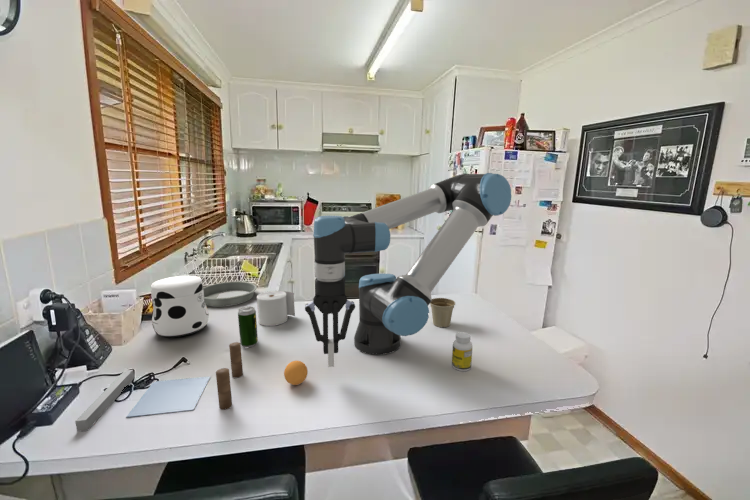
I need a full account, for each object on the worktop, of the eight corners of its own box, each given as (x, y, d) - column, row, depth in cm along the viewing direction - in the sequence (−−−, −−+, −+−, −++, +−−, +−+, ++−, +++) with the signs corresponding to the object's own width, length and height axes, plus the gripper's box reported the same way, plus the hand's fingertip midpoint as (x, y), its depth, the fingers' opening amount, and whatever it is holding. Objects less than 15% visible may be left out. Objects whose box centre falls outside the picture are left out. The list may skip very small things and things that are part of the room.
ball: (308, 375, 94) (307, 355, 93) (308, 388, 88) (307, 367, 87) (285, 377, 93) (284, 357, 92) (283, 391, 87) (282, 369, 86)
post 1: (233, 401, 83) (230, 367, 81) (230, 409, 80) (227, 374, 78) (221, 402, 82) (217, 368, 81) (217, 410, 80) (214, 375, 78)
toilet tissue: (252, 322, 129) (250, 296, 127) (277, 312, 139) (276, 288, 137) (271, 328, 123) (269, 302, 121) (296, 317, 133) (295, 293, 131)
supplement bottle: (447, 364, 100) (449, 332, 98) (462, 360, 102) (464, 329, 100) (459, 373, 95) (461, 340, 93) (475, 369, 97) (477, 337, 95)
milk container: (220, 322, 128) (215, 276, 125) (185, 344, 112) (178, 291, 108) (180, 318, 132) (175, 273, 129) (141, 338, 116) (133, 287, 112)
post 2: (243, 371, 96) (241, 341, 94) (241, 377, 93) (239, 346, 91) (233, 372, 95) (230, 342, 93) (230, 378, 93) (228, 347, 91)
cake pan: (219, 313, 139) (218, 302, 138) (186, 301, 152) (185, 291, 151) (268, 296, 159) (268, 286, 158) (235, 287, 172) (234, 278, 171)
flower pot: (425, 327, 125) (426, 304, 123) (431, 317, 133) (432, 296, 132) (451, 331, 121) (453, 308, 120) (456, 321, 130) (457, 299, 128)
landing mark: (210, 376, 93) (210, 376, 93) (193, 410, 80) (193, 409, 80) (153, 382, 91) (153, 381, 91) (126, 417, 77) (126, 416, 77)
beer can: (242, 349, 108) (239, 313, 106) (238, 343, 113) (235, 308, 110) (260, 345, 111) (257, 310, 109) (255, 338, 116) (253, 304, 113)
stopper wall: (134, 378, 93) (133, 369, 92) (87, 430, 73) (85, 420, 73) (126, 378, 92) (124, 370, 92) (77, 431, 73) (75, 421, 73)
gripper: (303, 283, 82) (305, 373, 86) (357, 281, 84) (357, 369, 89) (303, 274, 89) (306, 358, 94) (354, 273, 91) (353, 355, 96)
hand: (331, 363), depth 91 cm, fingers closed
